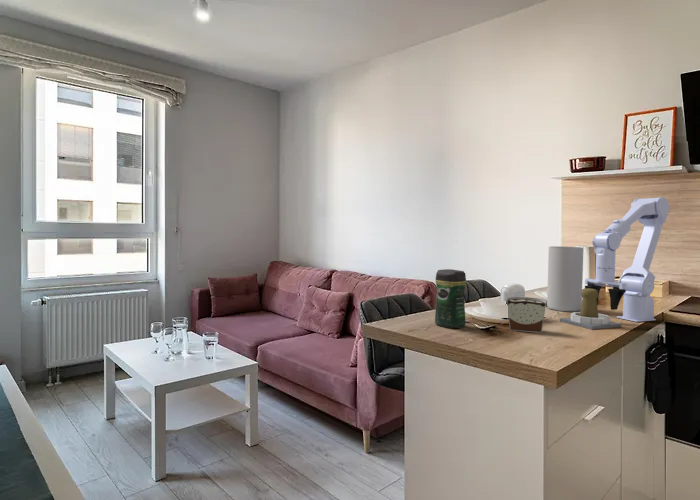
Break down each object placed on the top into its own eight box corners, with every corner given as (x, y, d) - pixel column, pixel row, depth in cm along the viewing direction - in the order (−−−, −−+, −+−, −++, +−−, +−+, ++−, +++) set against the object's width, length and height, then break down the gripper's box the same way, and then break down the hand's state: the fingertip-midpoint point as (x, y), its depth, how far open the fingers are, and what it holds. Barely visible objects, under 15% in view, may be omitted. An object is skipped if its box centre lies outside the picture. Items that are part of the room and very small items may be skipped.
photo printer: (515, 315, 164) (516, 282, 163) (526, 317, 160) (526, 283, 160) (497, 318, 158) (498, 283, 158) (508, 320, 155) (508, 285, 154)
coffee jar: (469, 326, 143) (470, 270, 142) (453, 330, 139) (454, 271, 138) (447, 321, 151) (447, 267, 150) (430, 324, 147) (431, 268, 146)
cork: (574, 319, 152) (575, 287, 151) (590, 319, 153) (591, 287, 152) (586, 323, 146) (587, 290, 145) (603, 322, 147) (604, 289, 146)
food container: (545, 329, 141) (546, 298, 141) (547, 333, 135) (548, 300, 135) (504, 326, 145) (505, 295, 145) (504, 329, 139) (505, 298, 139)
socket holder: (588, 319, 157) (588, 310, 157) (621, 326, 145) (621, 317, 145) (559, 321, 153) (560, 312, 153) (591, 329, 141) (591, 320, 141)
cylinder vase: (587, 312, 171) (589, 247, 170) (555, 311, 171) (557, 247, 170) (572, 306, 184) (573, 246, 182) (541, 306, 184) (543, 246, 183)
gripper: (578, 266, 156) (577, 304, 156) (615, 270, 142) (614, 312, 143) (594, 266, 158) (592, 303, 159) (631, 269, 144) (630, 310, 145)
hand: (604, 307), depth 151 cm, fingers open, 7 cm apart
